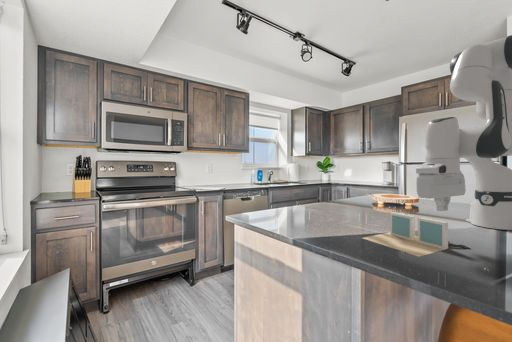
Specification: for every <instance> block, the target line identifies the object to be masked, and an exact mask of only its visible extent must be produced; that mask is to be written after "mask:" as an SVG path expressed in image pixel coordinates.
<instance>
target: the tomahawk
mask: <svg viewBox="0 0 512 342" xmlns="http://www.w3.org/2000/svg"><path fill="white" fill-rule="evenodd" d="M448 246H453V247H452V248H459V249H460V248H461V249H468V250H471V249H472V248H471V247H469V246H466V245H464V244H455V243H453V242H450V241H449V240H448Z"/></svg>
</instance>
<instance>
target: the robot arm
mask: <svg viewBox="0 0 512 342" xmlns="http://www.w3.org/2000/svg"><path fill="white" fill-rule="evenodd" d="M449 70H450V71H449V72H450V74H451V77H450V83H449V90H450V92H451V94H452V95H453V96H454V97H455V98H457V99H459V100H461V101H464V102H471V103H476V104H475V106H476V107H475V108H476V109H475V111H476V112H475V113H476V115H477V117H478V118H480V119H482V120H485V121H486V122H485V123H484V124H483V125H481V126H476V127H475V126H474V127H468V128H467V127H466V128H461V127H459V121H458V118H457V117H454V116H448V117H442V118H435V119H432V120H431V121H429V122H428V123H427V126H426V130H425V131H426V132H425V148H426V156H425V162H423V163H422V164H420V165H418V166H417V167H415V173H416V174H417V176H416V195H417V196H418V198H419V199H426V200H427V199H429V200H430V199H433V200H434V203H435V205H436V211H438V212H446V211H449V205H450V202H451V197H460V196H464V195H466V180H465V179H466V178H465V175H464V174H463V173H462V171H461V158H462V159H465V160H466V161H467V162H468V163H470V165H471V166H472V168H473V171H474V174H475V188H476V189H475V190H474V201H472V202H471V203H470V212H469V218H466V220H465V221H466V222H468V223H470V224H472V225H474V226H478V227H482V228H487V229H495V230H506V231H512V169H511V168H509V167H508V166H505V165H502V164H500V163H497V162H494V161H493V159H497V158H499V157H507V156H509V157H510V156H512V34H510V35H507V36H506V37H502V38H498V39H494V40H491V41H487V42H484V43H483V44H474V45H471V46H469V47H467V48H465V49H464V50H463V51H461V52H458V53H457V54H455V55H454V56H453V57H452V59H451V60H450V63H449Z"/></svg>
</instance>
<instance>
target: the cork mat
mask: <svg viewBox="0 0 512 342" xmlns="http://www.w3.org/2000/svg"><path fill="white" fill-rule="evenodd" d="M362 239H363V240H367V241H369V242H372V243H375V244H378V245H381V246H385V247H387V248H390V249H394V250H397V251H399V252H400V251H401V252H403V253H406V254H409V255H411V256H415V257H418V258H420V257H424V256H427V255H430V254H434V253H438V252H442V251H445V250H446V249H442V248H438V247H434V246H431V245H427V244H423V243H420V242H418V235H415V240H409V239H405V238H402V237H398V236H394V235H391V234H390V231H389V232H385V233H384V232H383V233H380V234H374V235H369V236H364V237H362ZM452 248H454V247H453V246H448V249H452ZM448 249H447V250H448Z"/></svg>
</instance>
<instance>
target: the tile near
mask: <svg viewBox="0 0 512 342" xmlns="http://www.w3.org/2000/svg"><path fill="white" fill-rule="evenodd" d="M417 236H418V242H420V243H423V244H427V245H431V246H434V247H438V248H442V249H445V250H448V241H449V222H448V221H443V220H439V219H438V220H437V219H434V218H433V219H431V218H426V217H422V216H421V217H417Z"/></svg>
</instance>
